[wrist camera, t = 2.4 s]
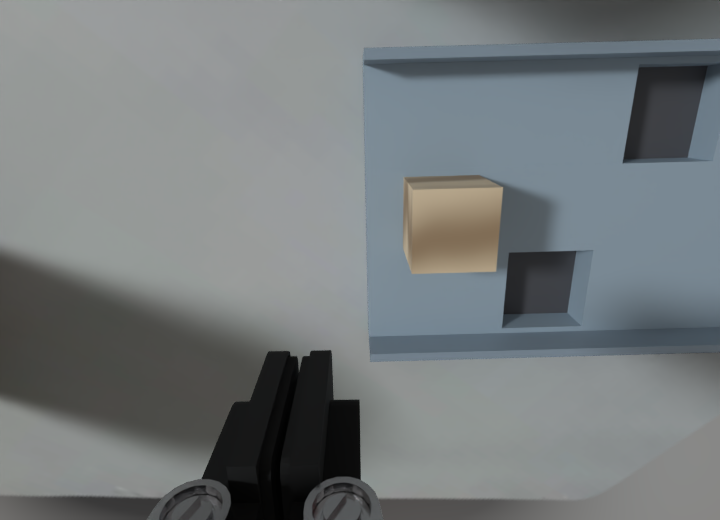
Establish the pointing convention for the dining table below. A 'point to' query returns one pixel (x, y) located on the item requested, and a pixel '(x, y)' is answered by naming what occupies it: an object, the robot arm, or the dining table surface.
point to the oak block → (451, 223)
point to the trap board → (551, 197)
